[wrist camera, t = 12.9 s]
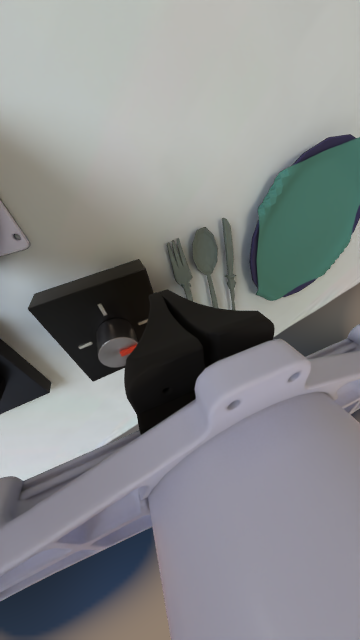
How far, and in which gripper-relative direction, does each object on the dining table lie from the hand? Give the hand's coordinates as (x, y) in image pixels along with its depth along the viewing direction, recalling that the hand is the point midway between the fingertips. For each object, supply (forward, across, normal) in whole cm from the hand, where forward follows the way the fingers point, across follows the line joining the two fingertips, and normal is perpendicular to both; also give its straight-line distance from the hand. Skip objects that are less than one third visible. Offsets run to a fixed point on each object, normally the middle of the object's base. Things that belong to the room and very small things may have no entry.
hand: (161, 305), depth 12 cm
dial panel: (+10, +5, +6) cm, 13 cm away
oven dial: (+7, +5, +6) cm, 11 cm away
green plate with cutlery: (+12, -19, +3) cm, 22 cm away
